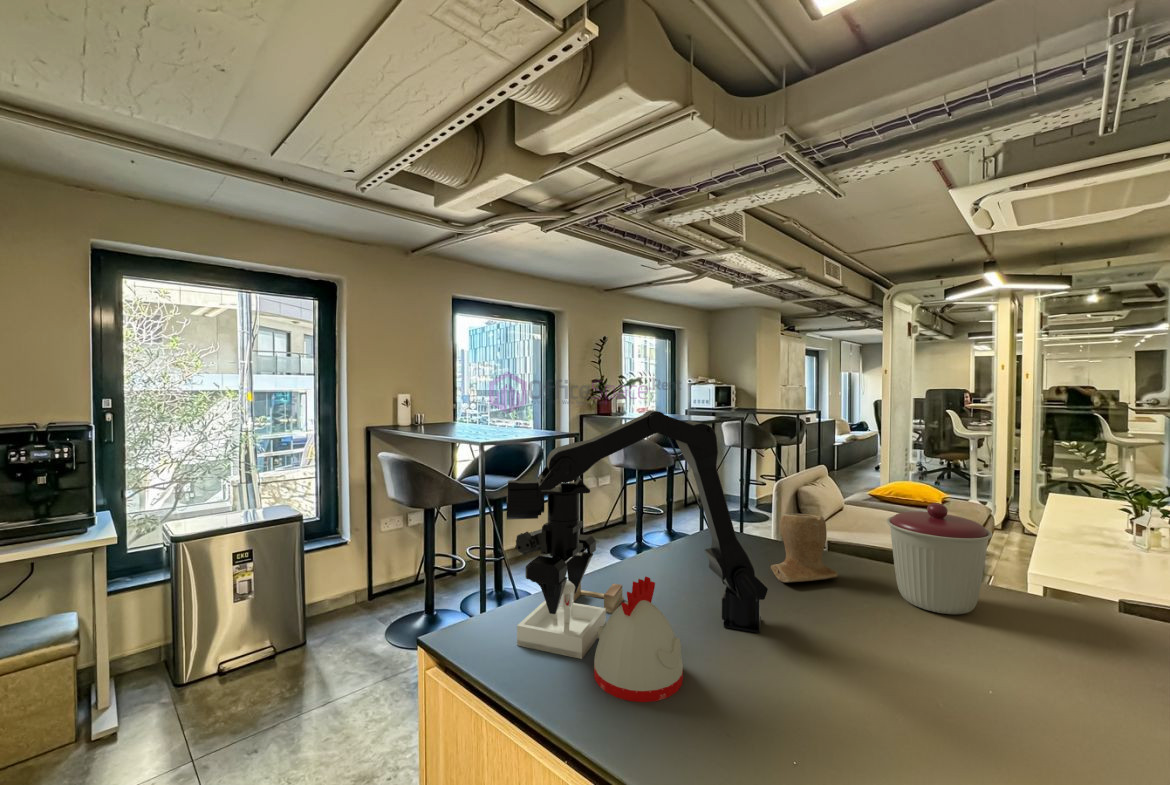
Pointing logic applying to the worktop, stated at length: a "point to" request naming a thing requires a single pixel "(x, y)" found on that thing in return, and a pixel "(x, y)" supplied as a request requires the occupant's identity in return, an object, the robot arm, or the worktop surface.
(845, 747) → the worktop surface
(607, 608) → the wooden joined piece
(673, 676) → the kitchen timer
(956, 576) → the canister
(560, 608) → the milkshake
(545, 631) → the tray
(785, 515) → the tan flared pedestal
